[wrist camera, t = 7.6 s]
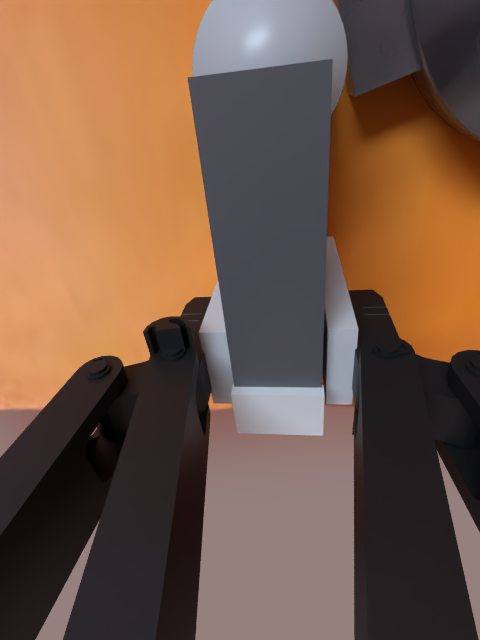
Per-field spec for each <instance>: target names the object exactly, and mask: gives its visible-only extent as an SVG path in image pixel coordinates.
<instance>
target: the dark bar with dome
mask: <svg viewBox="0 0 480 640" xmlns="http://www.w3.org/2000/svg"><path fill="white" fill-rule="evenodd" d="M346 71H347V41H346V34H345V30H344V26H343V23H342V20H341V17H340V15H339V12H338V10H337V8H336V6H335V4H334V2H333V1H332V0H213V1H212V2H211V4H210V5H209V7H208V8H207V10H206V12H205V14H204V16H203V18H202V20H201V23H200V26H199V29H198V32H197V36H196V40H195V44H194V52H193V77H188V83H189V90H190V96H191V103H192V109H193V116H194V123H195V129H196V136H197V143H198V149H199V156H200V163H201V169H202V176H203V183H204V189H205V196H206V202H207V209H208V216H209V222H210V229H211V236H212V242H213V249H214V256H215V262H216V269H217V276H218V282H219V289H220V296H221V302H222V309H223V315H224V322H225V329H226V335H227V342H228V349H229V355H230V362H231V369H232V375H233V382H234V384H233V387H232V392H231V398H232V404H233V410H234V417H235V422H236V429H237V433H252V434H253V433H254V434H283V435H315V436H323V424H324V399H325V395H324V385H322V369H323V339H324V308H325V278H326V248H327V218H328V187H329V157H330V127H331V115H332V113H333V111H334V110H335V108H336V105H337V103H338V101H339V99H340V96H341V93H342V90H343V87H344V82H345V78H346Z"/></svg>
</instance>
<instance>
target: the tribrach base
mask: <svg viewBox="0 0 480 640" xmlns="http://www.w3.org/2000/svg"><path fill="white" fill-rule="evenodd" d="M332 1H333V2H334V4H335V6H336V8H337V10H338V12H339V15H340V17H341V20H342V23H343V26H344V30H345V34H346V41H347V71H346V83H347V88H348V93H349V95H350V96H354V97H356V96H359V95H361V94H364V93H366V92H368V91H371V90H373V89H376V88H378V87H380V86H383V85H385V84H387V83H390V82H392V81H395V80H397V79H399V78H402V77H404V76H406V75H409V74H412V76H413V78H414V80H415V82H416V84H417V86H418V88H419V90H420V92H421V94H422V95H423V96H424V98H425V99H426V101H427V102H428V103H429V105H430V106H431V107H432V109H433V110H434V111H435V112H436V113H437V114H438V115H439V116H440V117H441V118H442V119H443V120H444V121H445V122H446V123H447V124H448V125H449V126H451V127H452V128H454V129H455V130H457V131H458V132H460V133H461V134H463V135H464V136H466V137H468V138H470V139H472V140H475V141H477V142H479V143H480V0H332Z"/></svg>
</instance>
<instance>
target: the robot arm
mask: <svg viewBox="0 0 480 640" xmlns="http://www.w3.org/2000/svg"><path fill="white" fill-rule="evenodd" d="M143 333H144V336H145V340H146V343H147V346H148V349H149V352H150V355H151V356H150V359H149V360H148V361H145V362H142V363H138V364H134V365H129V366H125V367H124V366H123V363H122V361H121V360H120V359H119V358H118V357H114V356H101V357H98V358H95V359H92V360H90V361H89V362H87V363H85V364H84V365H82V366H81V367H80V368H79V369H78V370H77V371H76V372H75V373H74V375H73V376H72V377H71V378H70V379H69V380H68V381H67V383H66V384H65V385H64V386H63V387H62V388H61V389H60V390H59V392H58V393H57V394H56V395H55V396H54V397H53V398H52V400H51V401H50V402H49V403H48V404H47V405H46V406H45V408H44V409H43V410H42V411H41V412H40V413H39V414H38V415H37V417H36V418H35V419H34V420H33V421H32V422H31V424H30V425H29V426H28V427H27V428H26V429H25V430H24V431H23V433H22V434H21V435H20V436H19V437H18V438H17V440H15V442H14V443H13V444H12V445H11V446H10V447H9V448H8V450H7V451H6V452H5V453H4V454H3V455H2V456H1V458H0V640H35V639H36V637H37V635H38V633H39V632H40V630H41V628H42V626H43V624H44V622H45V621H46V619H47V617H48V615H49V613H50V611H51V609H52V607H53V605H54V604H55V602H56V600H57V598H58V596H59V594H60V592H61V591H62V588H63V587H64V585H65V583H66V581H67V579H68V578H69V576H70V574H71V572H72V570H73V568H74V566H75V564H76V563H77V561H78V558H79V557H80V555H81V553H82V551H83V549H84V548H85V546H86V544H87V542H88V540H89V538H90V536H91V534H92V533H93V531H94V529H95V527H96V525H97V523H98V521H99V520H100V521H99V524H98V528H97V531H96V534H95V537H94V540H93V544H92V547H91V550H90V554H89V557H88V560H87V563H86V567H85V570H84V573H83V576H82V580H81V583H80V586H79V589H78V592H77V596H76V599H75V602H74V606H73V609H72V612H71V615H70V618H69V622H68V625H67V628H66V631H65V635H64V638H63V640H195V634H196V619H197V605H198V604H197V603H198V591H199V576H200V575H199V574H200V561H201V547H202V532H203V516H204V502H205V487H206V473H207V459H208V444H209V429H210V409H209V405H208V401H209V398H210V394H211V393H212V398H213V403H232V398H231V392H232V387H233V384H234V382H233V375H232V369H231V362H230V355H229V349H228V342H227V335H226V329H225V322H224V315H223V309H222V302H221V296H220V289H219V282H218V281H217V284H216V287H215V289H214V292H213V295H212V297H195V298H193V299H192V300H191V301H190V302H189V303H188V304H186V306H185V308H184V310H183V312H182V315H181V316H180V317H166V318H161V319H159V320H156V321H154V322H152V323H151V324H150V325H148V326H147V327H146V328H145V330H144V331H143ZM322 373H323V383H324V392H325V402H326V404H339V405H352V399H353V396H354V401H355V412H354V422H353V433H352V434H353V435H354V602H355V603H354V617H355V618H354V619H355V621H354V622H355V623H354V625H355V626H354V627H355V628H354V632H355V633H354V635H355V640H478V635H477V632H476V626H475V622H474V617H473V613H472V608H471V604H470V599H469V594H468V590H467V586H466V581H465V576H464V572H463V567H462V563H461V559H460V554H459V549H458V545H457V540H456V536H455V531H454V527H453V522H452V518H451V513H450V509H449V504H448V499H447V495H446V490H445V486H444V481H443V477H442V472H441V468H440V463H439V459H438V454H437V451H438V453H439V455H440V457H441V459H442V461H443V463H444V465H445V467H446V468H447V470H448V472H449V474H450V476H451V478H452V480H453V482H454V484H455V486H456V487H457V490H458V491H459V493H460V495H461V497H462V499H463V501H464V503H465V505H466V507H467V509H468V510H469V513H470V514H471V516H472V518H473V520H474V522H475V524H476V526H477V528H478V530H479V531H480V351H478V350H466V351H461V352H458V353H457V354H455V355H454V356H452V359H451V362H450V363H448V362H443V361H438V360H432V359H428V358H424V357H421V356H419V355H416V354H415V351H414V349H413V348H412V346H411V345H410V344H408V343H407V342H406V341H404V340H402V339H400V338H399V336H398V333H397V331H396V329H395V326H394V324H393V322H392V319H391V317H390V315H389V312H388V310H387V307H386V305H385V303H384V300H383V298H382V296H380V295H379V294H378V293H376V292H375V291H374V290H350V291H348V289H347V285H346V281H345V278H344V274H343V270H342V266H341V263H340V259H339V255H338V252H337V248H336V244H335V241H334V237H333V236H330V237H327V248H326V278H325V308H324V339H323V369H322ZM96 427H97V430H96V431H95V433H94V434H93V435H92V436H91V434H92V433H93V431H94V430H95V428H96ZM436 449H437V450H436Z"/></svg>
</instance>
